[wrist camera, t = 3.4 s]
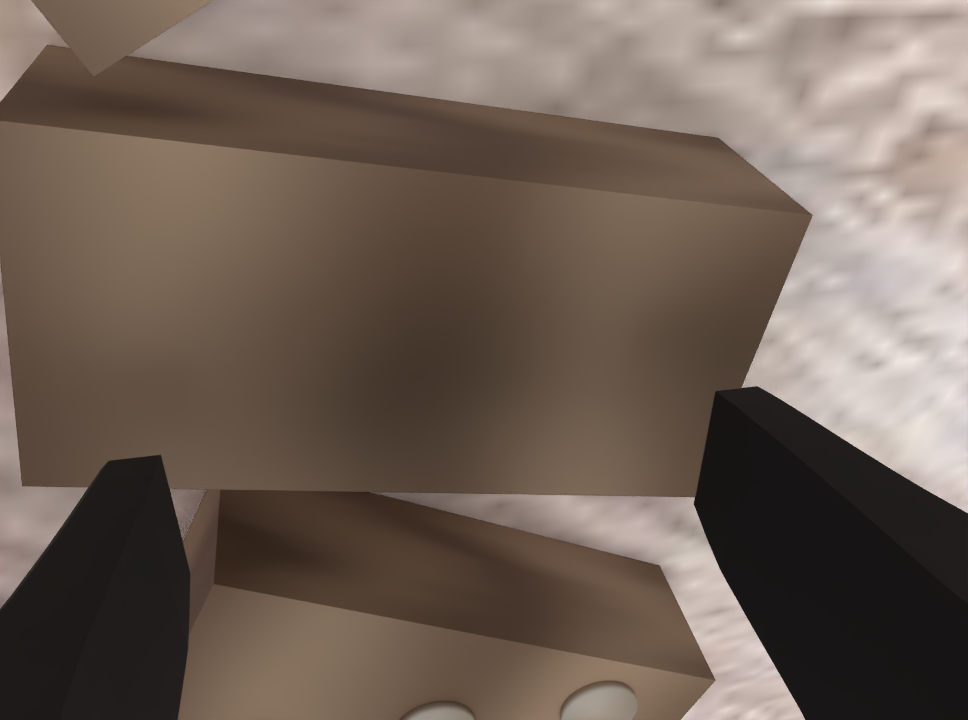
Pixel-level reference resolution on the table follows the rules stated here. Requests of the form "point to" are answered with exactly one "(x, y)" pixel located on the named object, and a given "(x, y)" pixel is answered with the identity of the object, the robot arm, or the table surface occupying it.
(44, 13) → the pip block five
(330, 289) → the plain block
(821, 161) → the table surface
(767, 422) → the robot arm
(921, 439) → the table surface
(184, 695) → the pip block three
